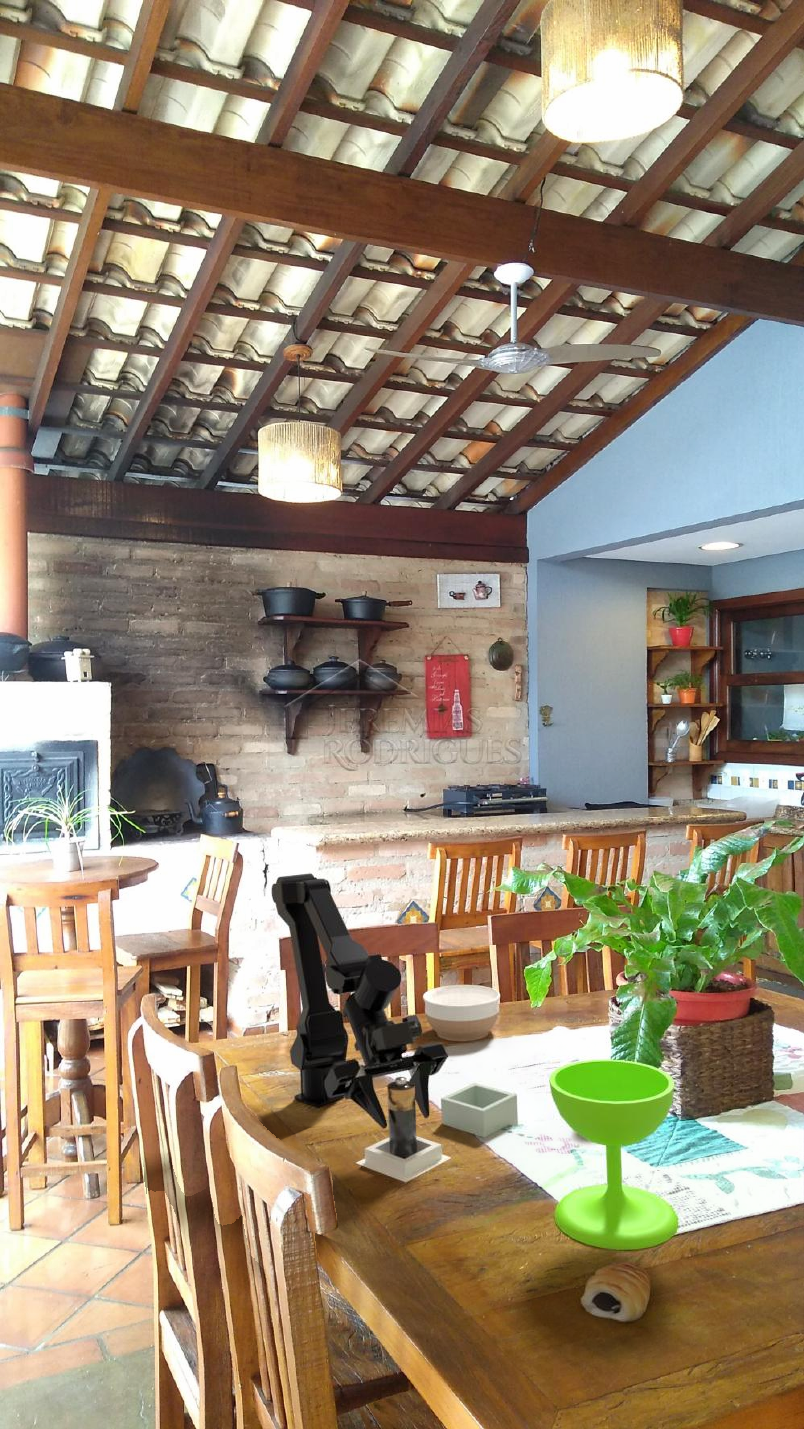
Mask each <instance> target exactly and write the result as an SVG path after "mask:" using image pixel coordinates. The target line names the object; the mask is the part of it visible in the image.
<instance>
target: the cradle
mask: <svg viewBox="0 0 804 1429" xmlns="http://www.w3.org/2000/svg"><path fill="white" fill-rule="evenodd" d="M416 1137H417V1153H416V1154H414V1155H412V1156H410V1157H408V1158H406V1159H403V1158H400V1157H397V1156H394V1155H392V1154H390V1144H389V1136H388V1137H387V1138H384V1139H382V1140H381V1141H378V1142H376V1143H373V1144H371V1145H370V1146H368V1147H366V1148H364V1158H362V1159H361V1160H359V1161H357V1162H355V1164H357V1165H360V1166H362V1167H365V1168H367V1169H370V1170H372V1171H375V1172H378V1173H379V1174H383V1175H385V1176H389V1178H390V1177H391V1178H393V1179H396V1180H398V1181H401V1182H403V1183H407V1182H410V1181H411V1180H413V1179H416V1178H417V1177H418V1176H421V1175H422V1174H424V1173H426V1172H428V1171H430V1170H432V1169H434V1168H436V1167H438V1166H439V1165H441V1164H443V1163H446V1161H449V1160H451V1159H452V1157H451V1156H449V1155H444V1154H443V1151H442V1150H443V1149H442V1148H443V1146H442V1144H441V1143H438V1142H435V1141H432V1140H429V1139H426V1138H424V1137H420V1136H417V1135H416Z"/></svg>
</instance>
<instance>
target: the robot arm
mask: <svg viewBox="0 0 804 1429" xmlns="http://www.w3.org/2000/svg"><path fill="white" fill-rule="evenodd" d="M331 891H332V890H331V885H330V882H329V881H328V879H325V878H317V877H315V876H314V875H313V873H310V872H309V873H304V874H303V873H302V874H294V875H284V876H279V877H277V879H276V882H275V883H273V884H272V885H271V897H272V901H273V903H274V904H275V907H276V911H277V914H278V916H279V918H281V919H282V920H283V922H284V923H285V924H286V926H288V928H289V934H290V940H291V946H292V952H293V958H294V959H293V960H294V963H295V964H294V965H295V970H296V971H295V972H296V977H297V984H298V988H299V994H300V1000H301V1006H302V1010H301V1012H300V1015H299V1018H298V1020H297V1022H296V1026H295V1028H296V1037H295V1039H294V1041H293V1044H292V1046H290V1047H291V1048H290V1050H289V1054H290V1062H291V1064H292V1065H293V1066H294V1067H296V1068H297V1069H298V1070H299V1072H300V1073H299V1074H300V1076H299V1077H300V1093H298V1094H295V1095H294V1098H293V1099H294V1100H296V1101H300V1102H303V1103H306V1104H309V1105H310V1106H311V1105H312V1106H314V1107H317V1108H320V1107H322V1106H325V1105H327V1104H330V1103H332V1102H334V1101H337V1100H340V1099H342V1098H344V1099H345V1100H351V1101H352V1102H354V1103H355V1104H356V1105H357V1106H359V1107H360V1108H361V1109H362V1110H363V1111H365V1113H367V1114H368V1115H369V1116H370V1117H371V1119H373V1120H374V1121H375V1123H377V1124H378V1125H379V1126H380V1127H381V1129H383V1130H384V1129H386V1128H387V1127H388V1123H387V1122H388V1121H387V1118H386V1116H385V1113H384V1110H383V1107H382V1105H381V1103H380V1100H379V1098H378V1095H377V1093H376V1090H375V1086H374V1078H379V1077H384V1076H388V1075H392V1074H396V1073H397V1074H398V1073H401V1072H406V1071H408V1073H409V1075H410V1079H409V1080H408V1081H410V1082H412V1083H414V1084H415V1103H416V1105H417V1106H418V1109H419V1110H420V1113H421V1114H422V1116H423V1118H424V1119H429V1117H430V1099H429V1097H430V1095H429V1082H430V1081H429V1080H430V1076H431V1077H432V1076H434V1075H436V1074H437V1073H439V1072H440V1070H441V1069H442V1067H443V1065H444V1064H445V1062H446V1061H447V1059H448V1058H449V1053H448V1050H447V1049H446V1046H445V1045H444V1044H443V1043H441V1042H440V1041H435V1042H429V1043H426V1044H421V1045H420V1044H419V1045H418V1047H417V1048H416V1050H415V1052H414V1054H413V1055H410V1056H409V1055H408V1056H404V1057H403V1054H405V1053H406V1052H407V1051H408V1047H407V1045H409V1044H411V1045H412V1044H415V1040H414V1039H415V1038H418V1037H421V1036H422V1035H423V1028H422V1023H421V1022H420V1019H419V1018H418V1016H417V1014H413V1015H408V1016H405V1017H403V1018H402V1020H401V1021H402V1022H399V1023H398V1022H397V1023H395V1022H394V1021H393V1020H389V1018H388V1016H387V1014H386V1010H385V1009H387V1008H388V1007H389V1006H390V1003H391V1002H392V1000H393V998H394V996H395V995H396V993H397V991H398V989H399V987H400V985H401V982H402V973H401V971H400V968H398V967H397V966H396V965H394V964H393V962H390V961H388V960H385V959H383V957H382V955H381V954H380V953H378V954H376V953H375V954H371V955H370V954H369V952H368V950H366V948H365V947H364V946H363V944H361V943H359V942H357V941H355V940H353V937H352V936H351V935H350V932H349V930H348V927H347V926H346V923H345V921H344V918H343V917H342V915H341V913H340V910H339V909H338V906H337V904H336V902H335V899H334V898H333V895H332V892H331ZM320 943H321V946H322V948H323V951H324V953H325V956H326V961H325V964H324V963H323V959H322V953H321V946H320ZM327 987H328V988H327ZM328 989H330V990H331V992H332V993H333V994H335V995H336V994H337V995H344V994H350V995H349V996H348V997H347V998H346V1000H345V1003H344V1006H343V1007H344V1008H343V1010H342V1012H341V1011H340V1010H339V1009H338V1010H336V1009H335V1008H334V1006H333V1005H332V1004H331V1002H330V999H329V993H328ZM346 1018H347V1019H348V1022H349V1025H350V1027H351V1029H352V1034H353V1036H354V1038H355V1043H354V1045H353V1046H354V1049H355V1051H356V1052H358V1051H359V1053H360V1055H361V1058H362V1061H363V1064H364V1065H363V1064H362V1065H361V1064H360V1063H359V1060H357V1059H355V1058H353V1059H348V1060H347V1056H348V1055H347V1054H348V1047H349V1046H348V1045H349V1035H348V1031H347V1029H346V1027H345V1024H344V1019H346Z"/></svg>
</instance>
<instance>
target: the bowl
mask: <svg viewBox="0 0 804 1429" xmlns="http://www.w3.org/2000/svg"><path fill="white" fill-rule="evenodd" d="M500 998H501V994H500V991H498V990H496V989H495V988H493V987H488V986H483V985H475V984H453V985H452V984H451V985H445V986H439V987H436V988H435V987H434V988H432V989H430V990H427V991H426V992H425V993H423V996H422V999H423V1001H424V1004H425V1006H424V1014H425V1017H426V1021H427V1022H428V1024H429V1026H430V1027H431V1028H432V1029H433V1030H434V1031H435V1033H436V1035H437V1036H438V1037H439V1038H440V1039H443V1040H447V1041H450V1042H451V1041H453V1042H469V1041H477V1040H481V1039H483V1038H486V1037H487V1036H488V1035H489V1034H490V1031H491V1029H493V1027H494V1026H495V1025H496V1023H497V1020H498V1019H499V1011H500V1006H499V1005H500V1004H499V1001H500Z"/></svg>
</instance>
